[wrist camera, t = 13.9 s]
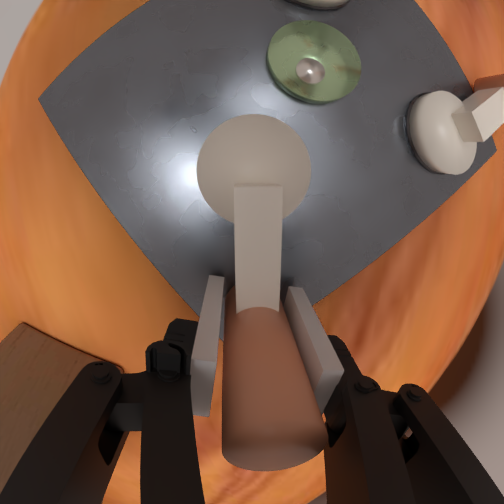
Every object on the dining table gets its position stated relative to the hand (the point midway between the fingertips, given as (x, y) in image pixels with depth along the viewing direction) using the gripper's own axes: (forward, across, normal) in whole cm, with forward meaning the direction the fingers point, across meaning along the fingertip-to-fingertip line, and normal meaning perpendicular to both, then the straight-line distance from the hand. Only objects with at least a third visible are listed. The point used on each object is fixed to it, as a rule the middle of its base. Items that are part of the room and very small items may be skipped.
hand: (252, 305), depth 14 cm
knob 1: (+1, -1, +4) cm, 4 cm away
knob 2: (+1, +11, +14) cm, 18 cm away
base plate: (+2, +1, +12) cm, 12 cm away
